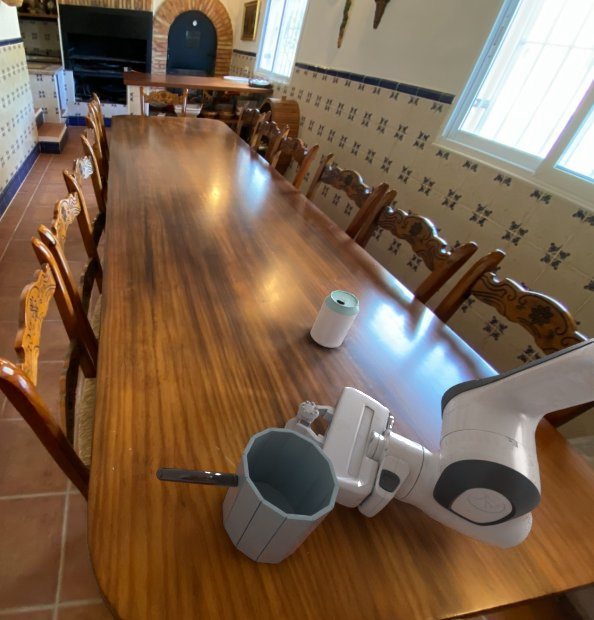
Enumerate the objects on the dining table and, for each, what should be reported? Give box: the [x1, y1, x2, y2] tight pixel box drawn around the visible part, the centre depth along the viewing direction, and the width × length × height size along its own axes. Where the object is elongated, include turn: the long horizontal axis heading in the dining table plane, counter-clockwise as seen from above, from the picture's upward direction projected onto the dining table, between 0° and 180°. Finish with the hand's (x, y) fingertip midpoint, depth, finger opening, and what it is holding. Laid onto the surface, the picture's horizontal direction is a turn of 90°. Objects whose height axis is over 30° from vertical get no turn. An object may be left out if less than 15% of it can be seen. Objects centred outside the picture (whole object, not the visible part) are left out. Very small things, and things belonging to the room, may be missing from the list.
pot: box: [155, 427, 339, 565], centre depth 47 cm, size 21×11×15 cm, turn 87°
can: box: [310, 290, 360, 349], centre depth 79 cm, size 7×7×12 cm
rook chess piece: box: [283, 400, 319, 431], centre depth 61 cm, size 4×4×8 cm
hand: (299, 415), depth 60 cm, fingers closed on rook chess piece, 3 cm apart
